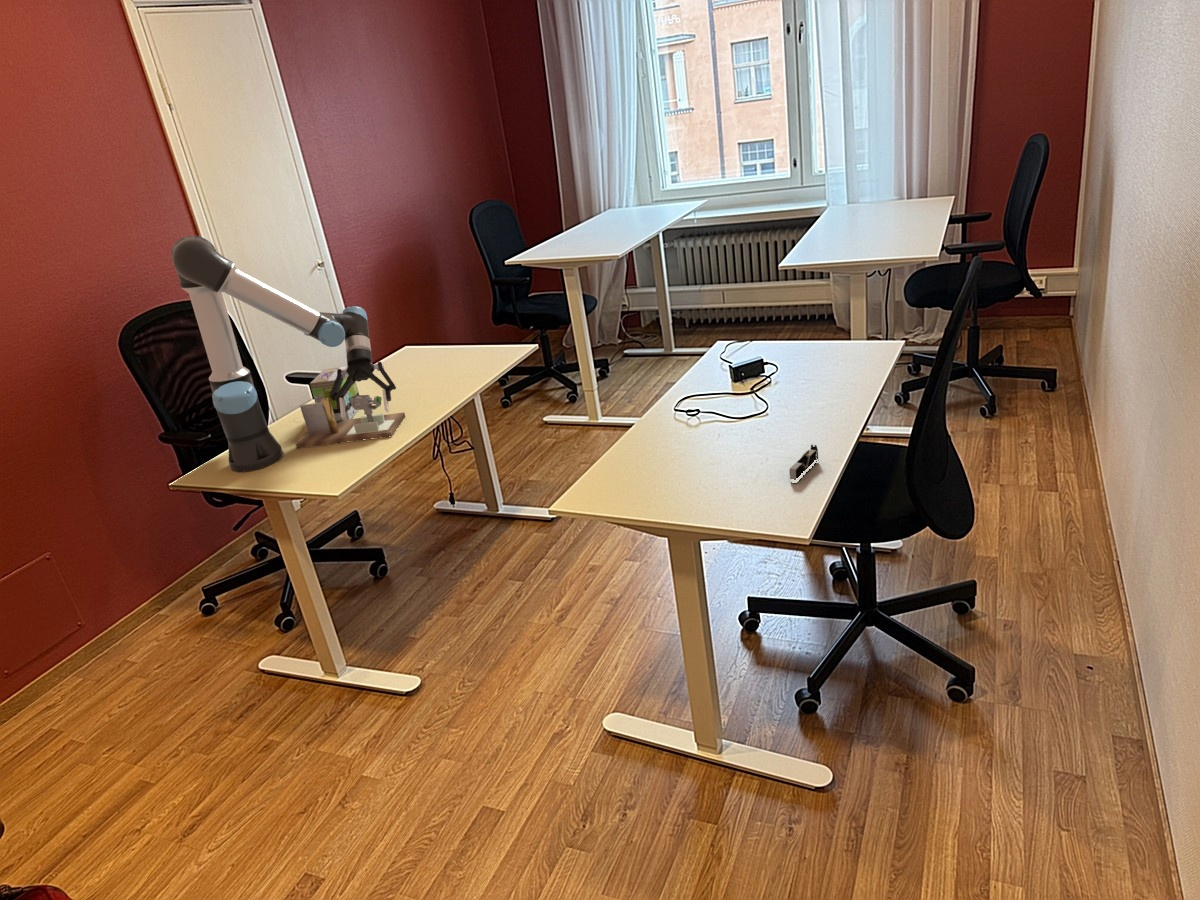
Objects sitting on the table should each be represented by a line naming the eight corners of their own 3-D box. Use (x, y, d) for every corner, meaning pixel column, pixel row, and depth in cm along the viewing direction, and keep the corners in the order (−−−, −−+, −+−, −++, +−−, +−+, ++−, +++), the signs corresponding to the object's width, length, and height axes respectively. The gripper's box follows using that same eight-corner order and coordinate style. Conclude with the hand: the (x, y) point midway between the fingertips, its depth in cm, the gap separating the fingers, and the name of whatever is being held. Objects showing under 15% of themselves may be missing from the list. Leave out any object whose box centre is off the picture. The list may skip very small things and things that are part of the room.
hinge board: (297, 448, 245) (284, 410, 240) (315, 428, 259) (304, 391, 254) (391, 436, 242) (381, 398, 237) (405, 416, 257) (395, 380, 252)
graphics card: (812, 463, 188) (806, 444, 186) (822, 462, 186) (816, 443, 185) (790, 485, 180) (784, 465, 178) (800, 484, 178) (794, 464, 177)
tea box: (351, 421, 260) (338, 379, 254) (321, 426, 260) (307, 383, 254) (363, 405, 274) (351, 364, 268) (334, 409, 274) (322, 368, 268)
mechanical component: (384, 428, 245) (377, 397, 241) (355, 428, 248) (347, 398, 244) (389, 424, 247) (381, 394, 243) (359, 425, 250) (352, 395, 246)
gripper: (400, 351, 255) (408, 412, 248) (323, 365, 254) (328, 427, 246) (395, 340, 248) (402, 402, 241) (315, 354, 247) (320, 417, 239)
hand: (365, 414), depth 243 cm, fingers open, 12 cm apart
